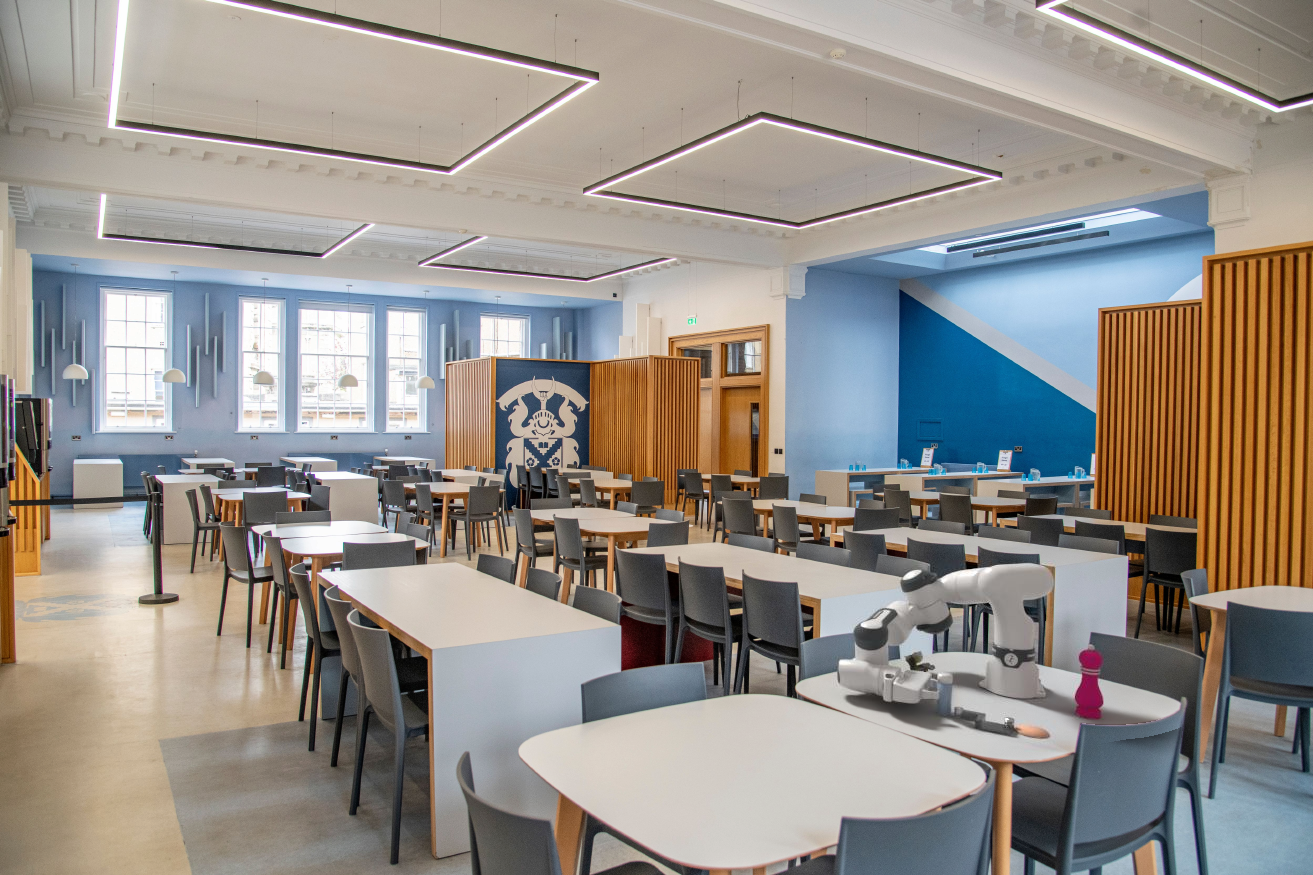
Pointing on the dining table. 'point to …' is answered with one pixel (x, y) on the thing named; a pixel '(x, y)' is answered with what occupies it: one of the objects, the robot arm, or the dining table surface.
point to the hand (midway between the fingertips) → (942, 690)
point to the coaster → (1031, 731)
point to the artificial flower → (916, 659)
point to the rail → (983, 724)
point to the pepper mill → (1089, 685)
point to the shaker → (944, 693)
